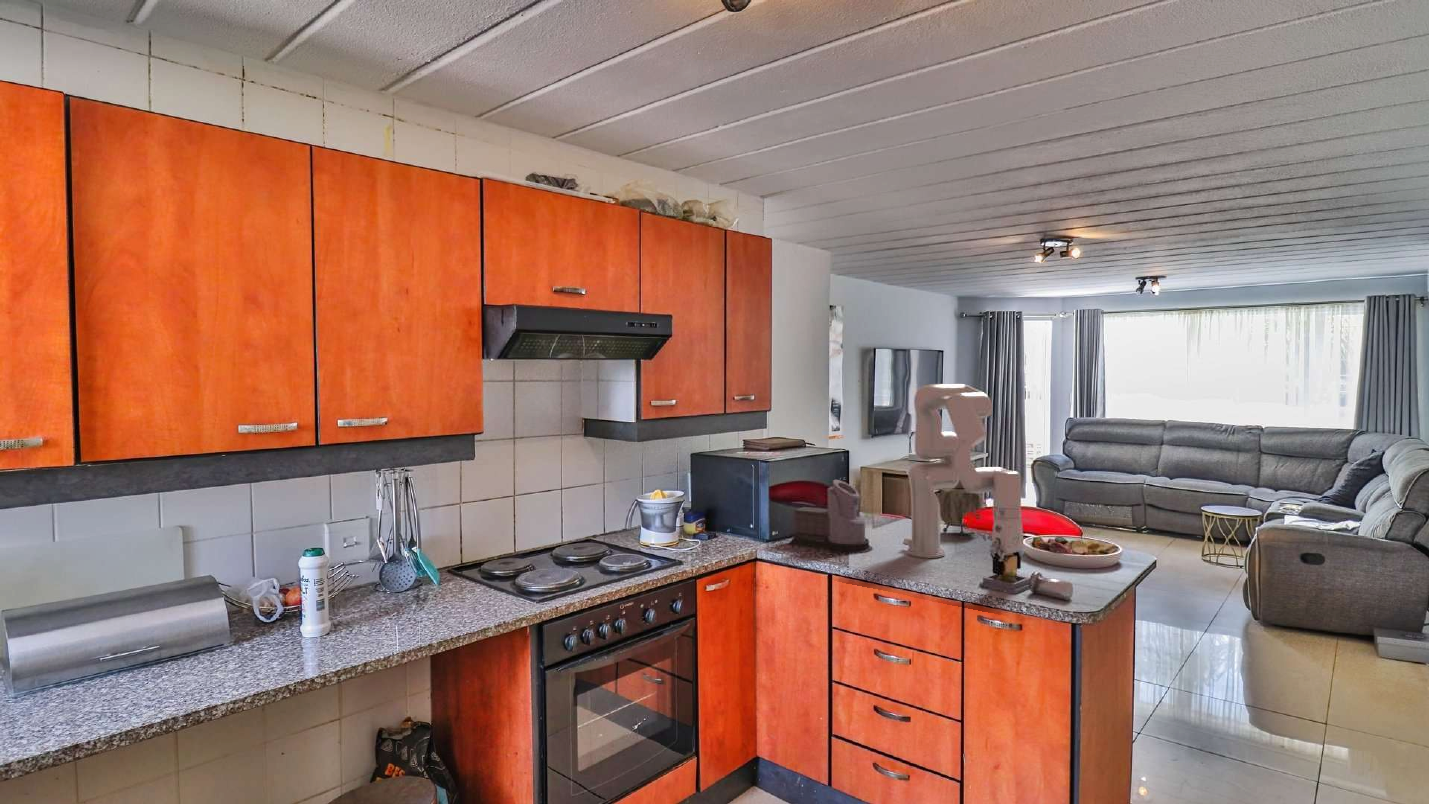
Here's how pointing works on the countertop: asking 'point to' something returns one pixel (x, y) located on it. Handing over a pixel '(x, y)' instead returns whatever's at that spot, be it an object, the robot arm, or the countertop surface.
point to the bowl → (1072, 551)
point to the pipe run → (1050, 587)
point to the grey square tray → (1006, 584)
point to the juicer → (833, 523)
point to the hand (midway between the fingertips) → (1006, 571)
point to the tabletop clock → (958, 505)
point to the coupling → (1009, 569)
